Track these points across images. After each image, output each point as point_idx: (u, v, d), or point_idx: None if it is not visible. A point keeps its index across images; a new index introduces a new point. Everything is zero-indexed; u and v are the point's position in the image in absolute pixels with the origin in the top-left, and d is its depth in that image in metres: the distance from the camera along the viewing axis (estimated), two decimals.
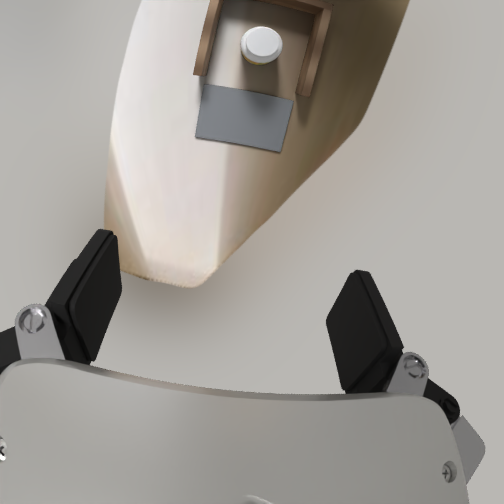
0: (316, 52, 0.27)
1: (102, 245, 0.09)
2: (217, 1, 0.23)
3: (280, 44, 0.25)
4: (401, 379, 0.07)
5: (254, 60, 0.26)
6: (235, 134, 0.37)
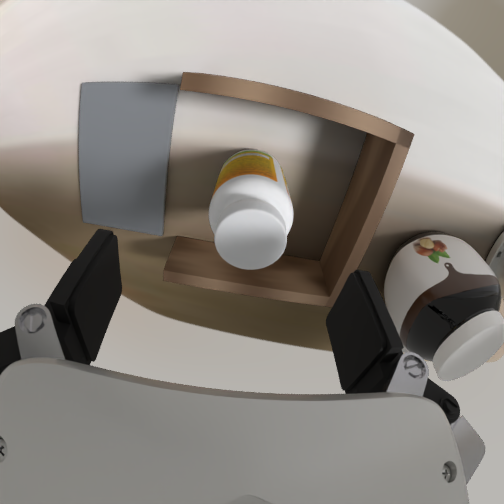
0: (245, 289, 0.20)
1: (102, 245, 0.09)
2: (364, 128, 0.14)
3: None
4: (401, 379, 0.07)
5: (212, 206, 0.15)
6: (90, 151, 0.18)
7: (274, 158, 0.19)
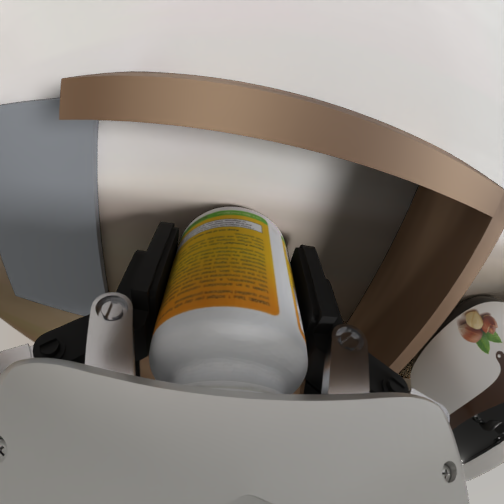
0: None
1: (169, 237, 0.10)
2: (454, 194, 0.06)
3: None
4: (340, 357, 0.07)
5: (151, 360, 0.07)
6: (0, 210, 0.10)
7: (270, 222, 0.11)
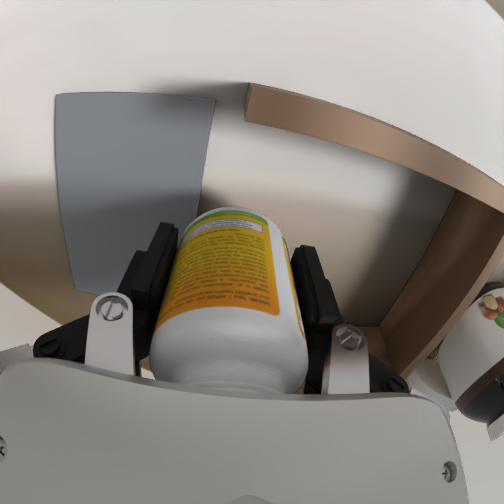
0: None
1: (169, 237, 0.10)
2: (491, 202, 0.08)
3: None
4: (340, 357, 0.07)
5: (152, 360, 0.07)
6: (76, 200, 0.12)
7: (271, 222, 0.11)
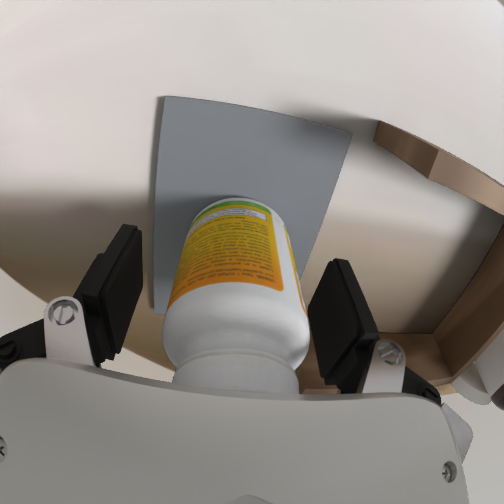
0: None
1: (128, 239, 0.09)
2: None
3: None
4: (378, 368, 0.07)
5: (165, 335, 0.08)
6: (178, 221, 0.13)
7: (274, 212, 0.12)
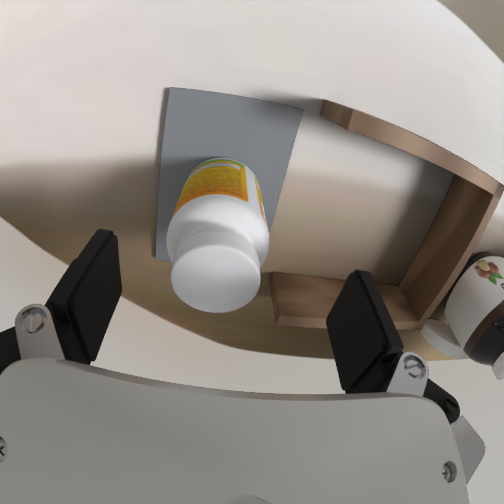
0: None
1: (102, 245, 0.09)
2: (478, 183, 0.13)
3: None
4: (401, 379, 0.07)
5: (169, 235, 0.12)
6: (177, 177, 0.17)
7: (247, 167, 0.16)
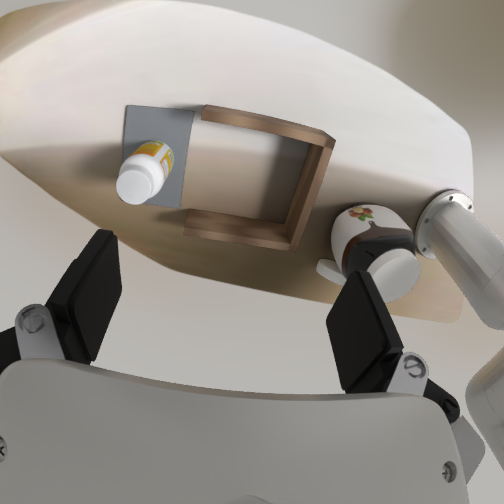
0: (236, 238, 0.32)
1: (102, 245, 0.09)
2: (304, 139, 0.26)
3: None
4: (401, 379, 0.07)
5: (119, 173, 0.25)
6: (132, 152, 0.29)
7: (166, 144, 0.29)
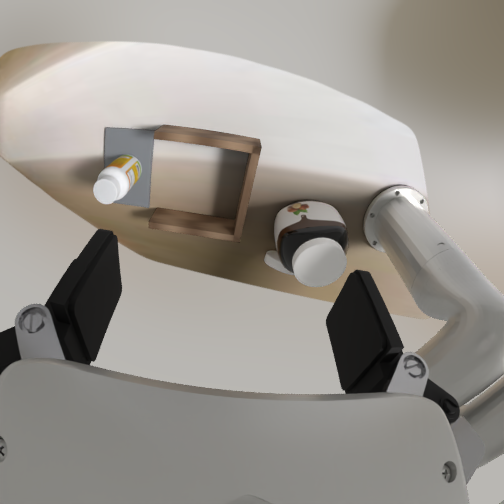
0: (189, 231, 0.40)
1: (102, 245, 0.09)
2: (234, 148, 0.33)
3: None
4: (401, 379, 0.07)
5: (97, 180, 0.32)
6: None
7: (134, 157, 0.36)
